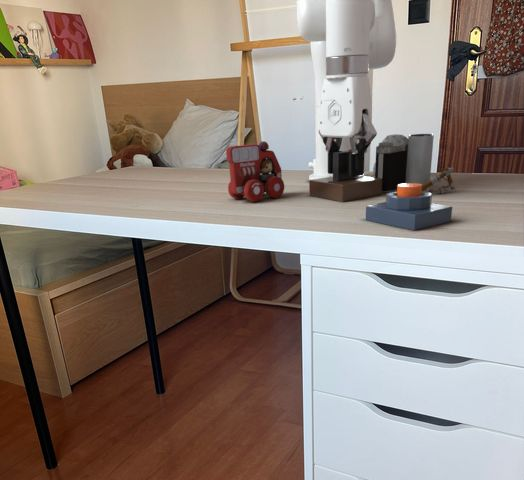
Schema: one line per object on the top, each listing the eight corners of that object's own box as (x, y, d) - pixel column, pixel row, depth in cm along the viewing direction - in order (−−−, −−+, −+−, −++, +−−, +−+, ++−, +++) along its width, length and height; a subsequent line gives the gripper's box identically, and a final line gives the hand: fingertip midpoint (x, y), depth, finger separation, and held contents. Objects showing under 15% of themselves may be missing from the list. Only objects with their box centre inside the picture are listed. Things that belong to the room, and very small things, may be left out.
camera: (401, 179, 117) (404, 131, 112) (428, 182, 112) (432, 131, 108) (358, 189, 108) (359, 137, 104) (385, 192, 103) (388, 138, 99)
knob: (338, 180, 101) (338, 151, 98) (332, 180, 102) (332, 151, 100) (357, 177, 103) (358, 149, 101) (352, 176, 104) (352, 148, 102)
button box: (365, 220, 83) (366, 194, 82) (401, 212, 87) (402, 187, 85) (414, 230, 76) (416, 202, 74) (450, 221, 79) (453, 194, 78)
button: (391, 197, 80) (392, 185, 80) (408, 193, 82) (408, 182, 81) (409, 200, 78) (410, 187, 77) (426, 196, 79) (427, 184, 78)
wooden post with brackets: (460, 186, 100) (454, 164, 97) (425, 208, 100) (418, 186, 97) (455, 185, 101) (449, 163, 99) (419, 206, 101) (412, 185, 99)
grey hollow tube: (416, 194, 100) (420, 136, 96) (400, 191, 104) (403, 135, 99) (434, 191, 102) (439, 134, 98) (417, 188, 106) (421, 133, 101)
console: (309, 195, 105) (309, 179, 104) (347, 188, 110) (347, 173, 108) (342, 201, 98) (342, 184, 96) (381, 194, 102) (382, 177, 101)
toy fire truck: (292, 195, 106) (290, 140, 102) (242, 205, 100) (238, 146, 95) (270, 191, 111) (268, 139, 107) (222, 200, 105) (217, 145, 100)
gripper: (301, 72, 99) (303, 173, 107) (364, 66, 86) (361, 181, 94) (332, 71, 102) (332, 168, 110) (397, 64, 89) (391, 176, 97)
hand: (345, 173), depth 102 cm, fingers open, 5 cm apart
